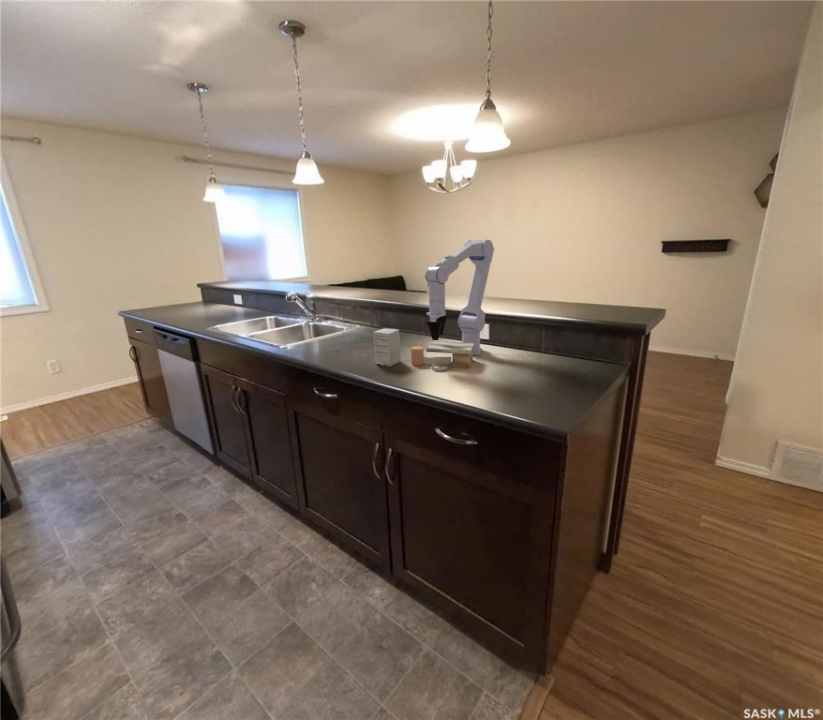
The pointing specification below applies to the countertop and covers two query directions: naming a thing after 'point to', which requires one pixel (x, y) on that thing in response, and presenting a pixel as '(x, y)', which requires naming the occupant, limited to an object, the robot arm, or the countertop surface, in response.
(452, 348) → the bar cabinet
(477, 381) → the countertop surface
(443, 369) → the disc
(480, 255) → the robot arm
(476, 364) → the countertop surface
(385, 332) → the grey drawer cabinet
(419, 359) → the blade tool
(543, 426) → the countertop surface
